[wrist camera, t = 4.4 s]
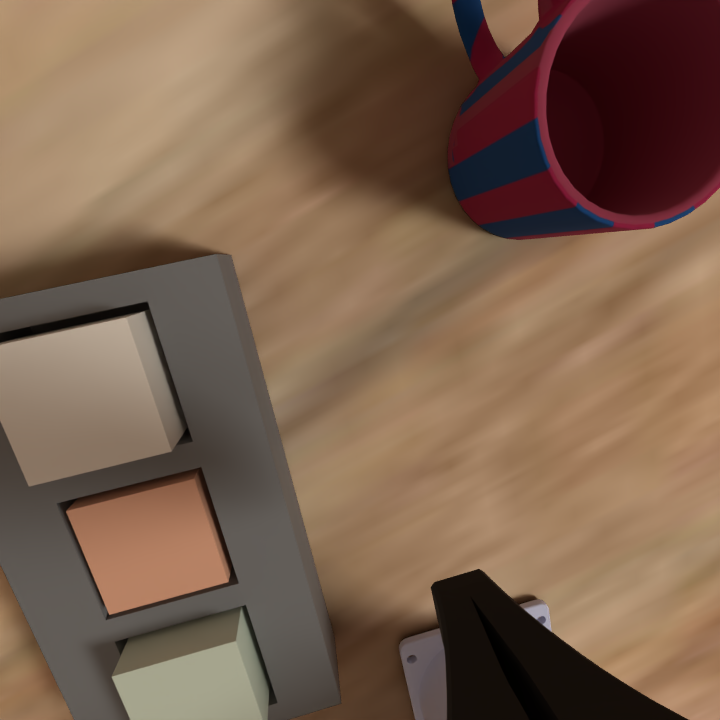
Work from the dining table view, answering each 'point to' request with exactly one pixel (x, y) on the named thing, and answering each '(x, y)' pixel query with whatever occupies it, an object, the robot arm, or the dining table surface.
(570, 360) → the dining table surface
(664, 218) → the mug
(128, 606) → the terracotta key
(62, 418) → the cream key
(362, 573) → the dining table surface
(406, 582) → the dining table surface
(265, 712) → the sage key
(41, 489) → the key panel
